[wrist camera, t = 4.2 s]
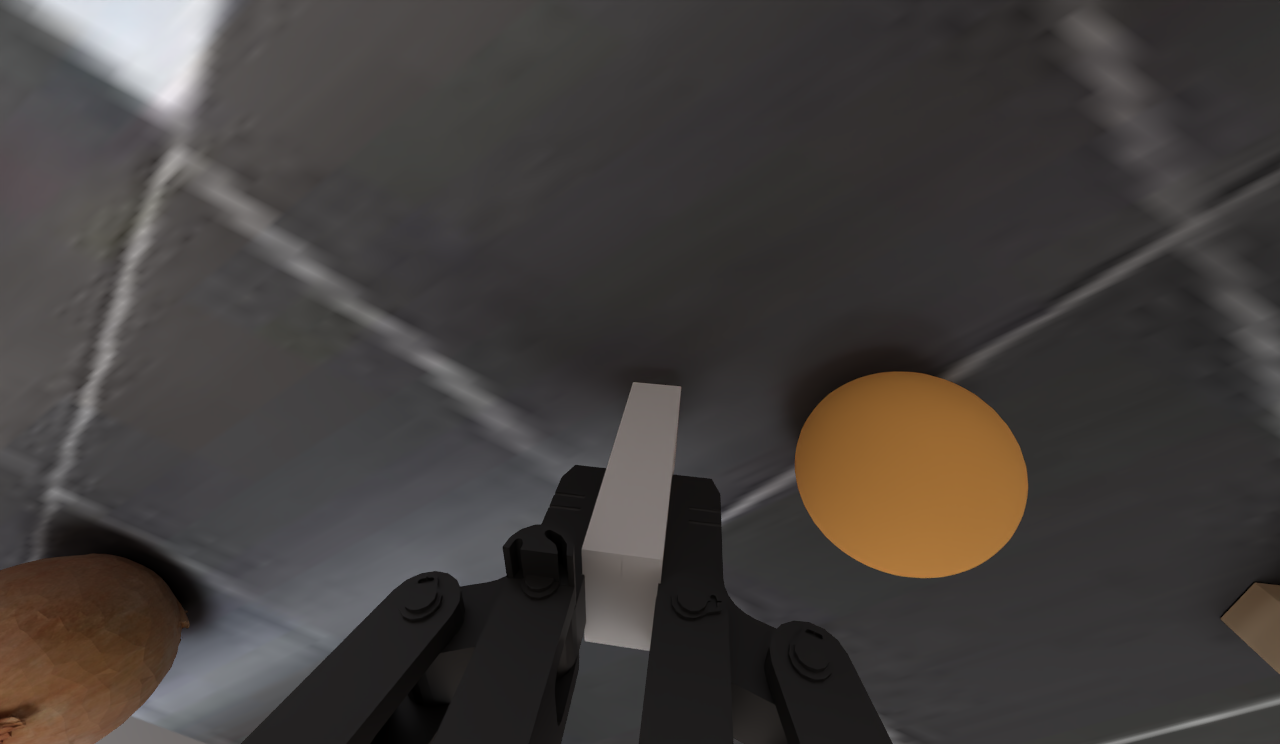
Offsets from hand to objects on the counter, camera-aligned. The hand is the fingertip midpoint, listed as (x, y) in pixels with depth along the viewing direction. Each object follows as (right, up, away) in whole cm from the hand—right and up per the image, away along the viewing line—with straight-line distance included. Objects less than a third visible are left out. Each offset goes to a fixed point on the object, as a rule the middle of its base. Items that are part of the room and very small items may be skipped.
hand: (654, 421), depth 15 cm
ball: (+7, -1, -2) cm, 7 cm away
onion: (-28, -10, +11) cm, 32 cm away
